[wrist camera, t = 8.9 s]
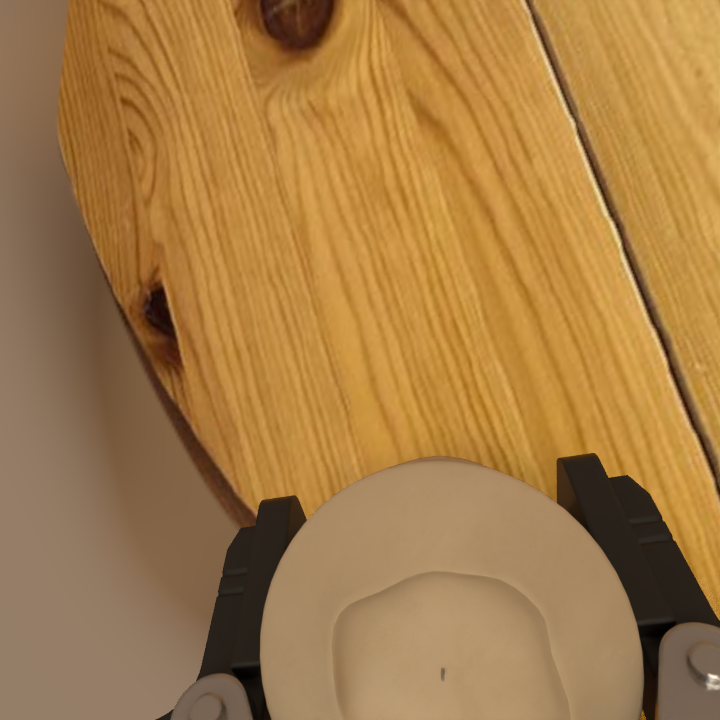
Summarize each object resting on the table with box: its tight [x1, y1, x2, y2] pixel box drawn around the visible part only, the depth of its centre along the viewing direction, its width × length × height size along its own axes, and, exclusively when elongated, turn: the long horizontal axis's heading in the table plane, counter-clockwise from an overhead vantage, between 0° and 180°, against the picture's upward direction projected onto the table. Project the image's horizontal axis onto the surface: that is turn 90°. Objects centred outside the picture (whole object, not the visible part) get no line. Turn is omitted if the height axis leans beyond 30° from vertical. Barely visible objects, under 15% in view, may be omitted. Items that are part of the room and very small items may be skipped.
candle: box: [260, 456, 644, 720], centre depth 12 cm, size 6×6×10 cm
